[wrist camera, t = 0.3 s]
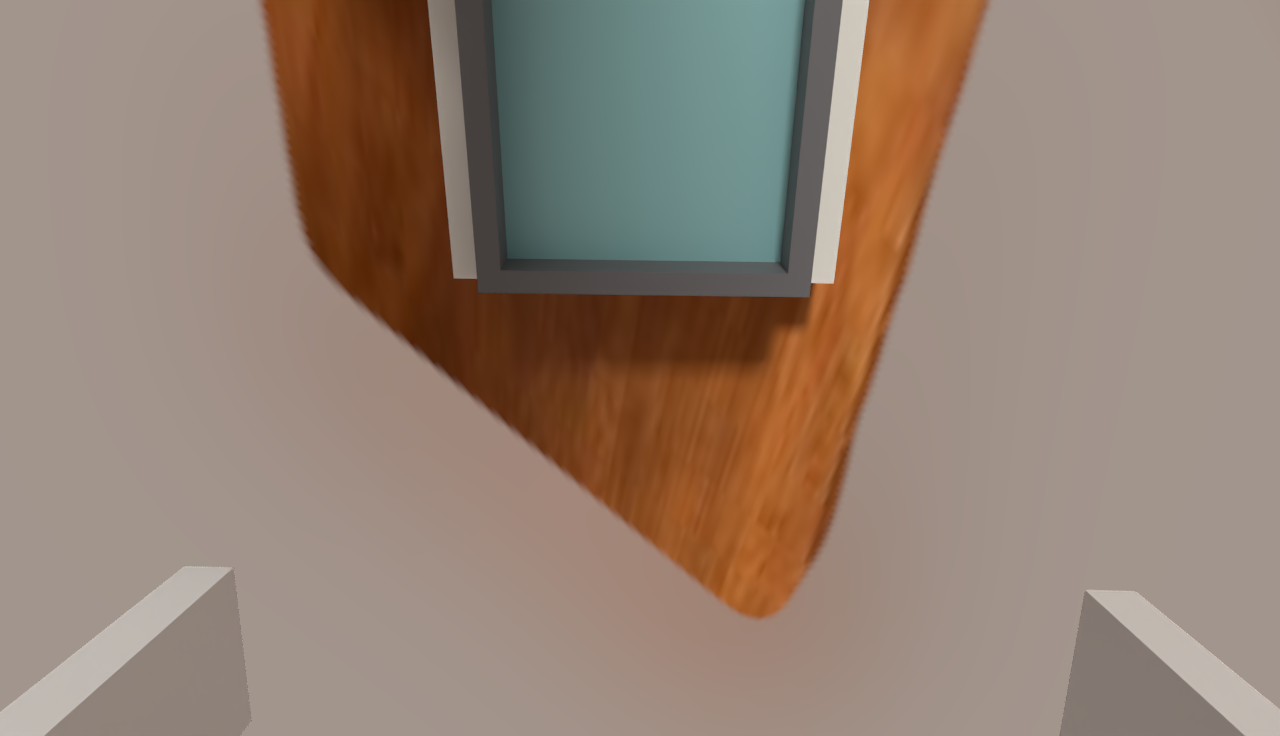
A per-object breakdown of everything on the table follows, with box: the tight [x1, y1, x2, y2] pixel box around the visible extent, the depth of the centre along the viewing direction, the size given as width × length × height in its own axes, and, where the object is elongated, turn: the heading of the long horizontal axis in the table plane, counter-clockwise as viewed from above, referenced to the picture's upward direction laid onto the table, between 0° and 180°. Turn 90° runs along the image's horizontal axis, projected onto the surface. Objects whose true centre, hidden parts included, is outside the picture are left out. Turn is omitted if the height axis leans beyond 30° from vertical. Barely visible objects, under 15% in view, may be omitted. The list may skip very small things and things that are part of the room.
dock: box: [428, 0, 869, 297], centre depth 30 cm, size 16×17×5 cm
